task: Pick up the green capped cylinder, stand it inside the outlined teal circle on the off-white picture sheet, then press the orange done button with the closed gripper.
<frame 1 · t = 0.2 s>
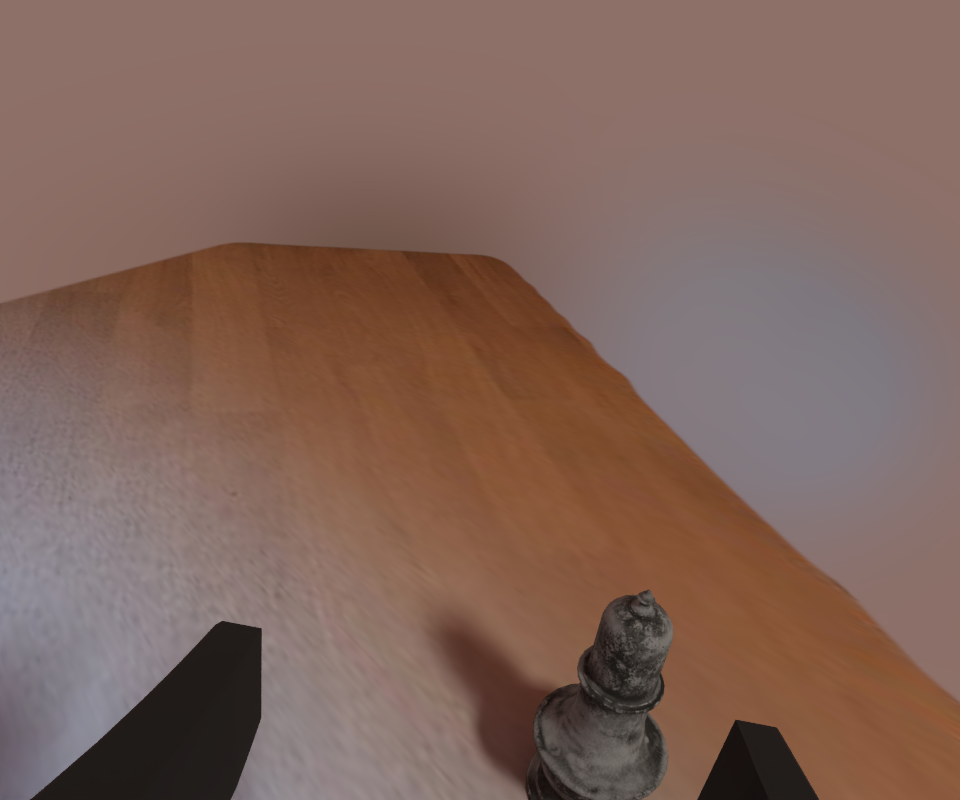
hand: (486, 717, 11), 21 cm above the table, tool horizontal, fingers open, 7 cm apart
salt shaker: (582, 792, 34), on the table
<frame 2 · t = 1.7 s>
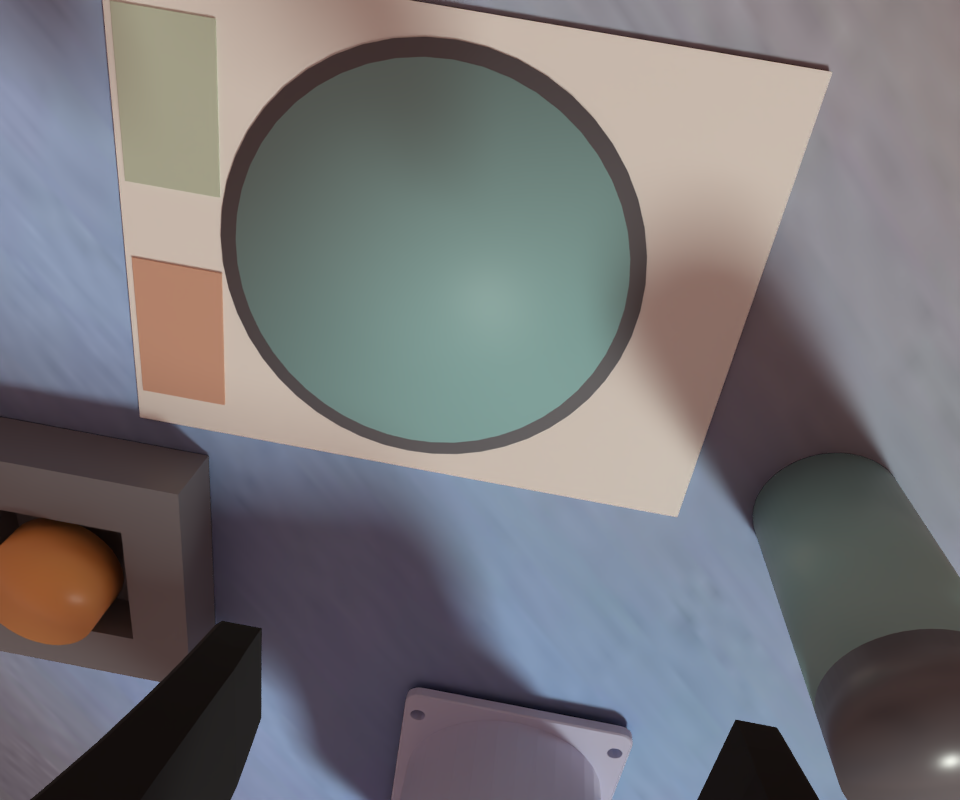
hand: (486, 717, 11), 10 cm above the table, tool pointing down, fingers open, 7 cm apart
green capped cylinder: (826, 512, 21), on the table
picture sheet: (429, 271, 19), on the table
button housing: (94, 533, 25), on the table
done button: (51, 581, 23), point 2 cm above the table, slide at 0.0 cm
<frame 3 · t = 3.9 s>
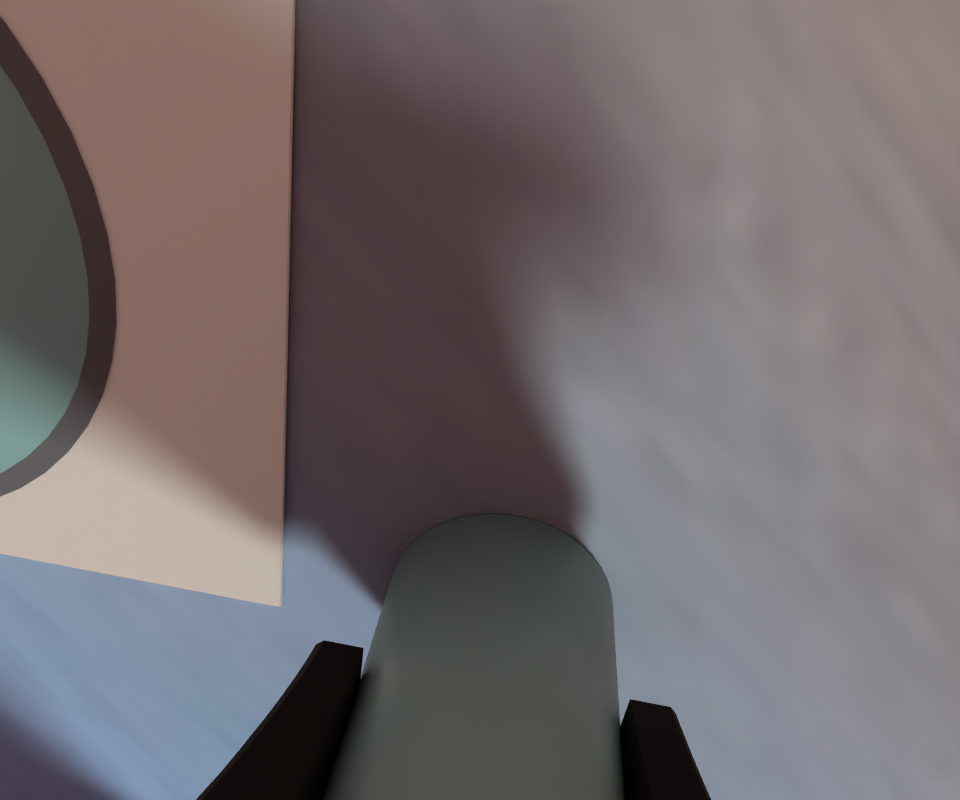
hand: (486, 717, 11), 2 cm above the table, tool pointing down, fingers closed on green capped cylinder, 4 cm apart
green capped cylinder: (499, 603, 14), on the table, touching gripper
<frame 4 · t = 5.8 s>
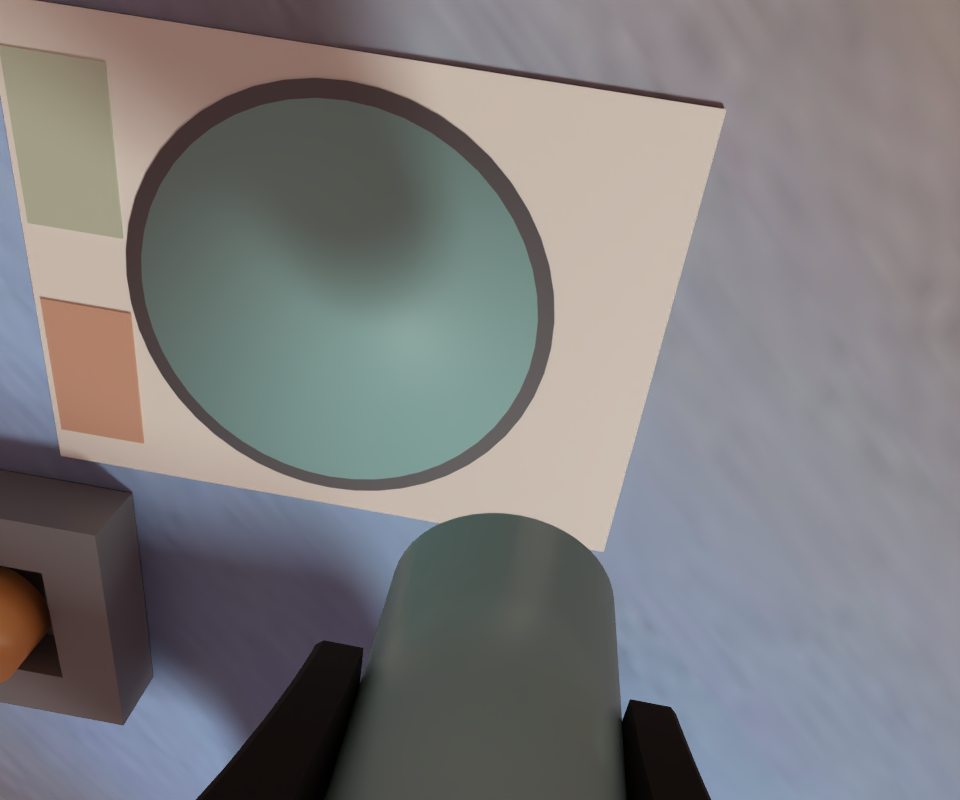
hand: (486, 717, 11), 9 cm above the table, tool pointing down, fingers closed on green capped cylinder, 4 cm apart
green capped cylinder: (501, 602, 14), point 7 cm above the table, touching gripper
picture sheet: (338, 310, 19), on the table
button housing: (24, 570, 25), on the table
when the fingers open (4 cm above the table, at t = 7.8 s): green capped cylinder drops 1 cm, resting on picture sheet.
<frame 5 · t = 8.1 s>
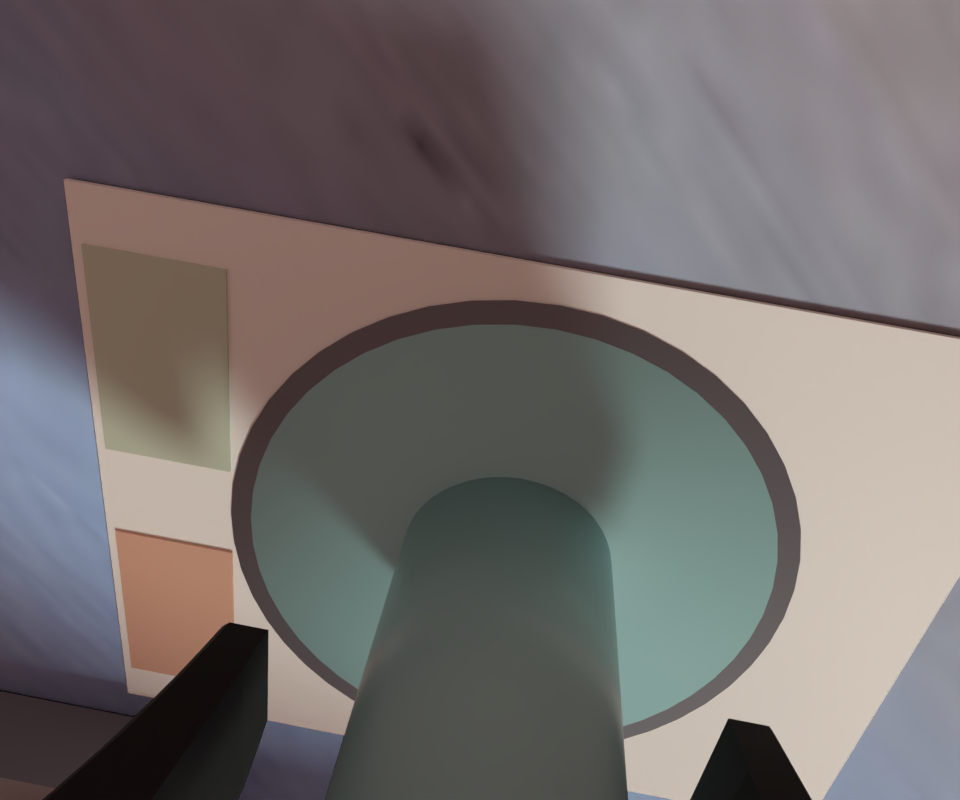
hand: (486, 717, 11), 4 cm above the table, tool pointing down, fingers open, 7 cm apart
green capped cylinder: (505, 563, 14), resting on picture sheet
picture sheet: (505, 560, 15), on the table
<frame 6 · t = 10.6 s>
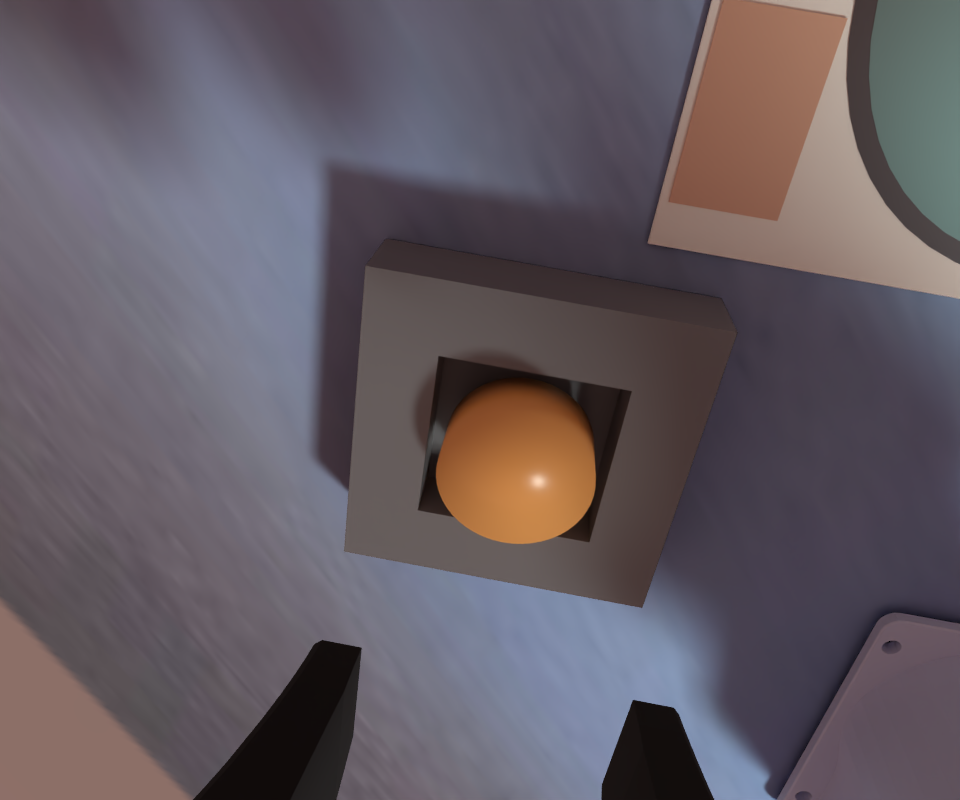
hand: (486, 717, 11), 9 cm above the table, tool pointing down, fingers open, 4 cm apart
button housing: (523, 413, 20), on the table
done button: (517, 461, 18), point 2 cm above the table, slide at 0.0 cm
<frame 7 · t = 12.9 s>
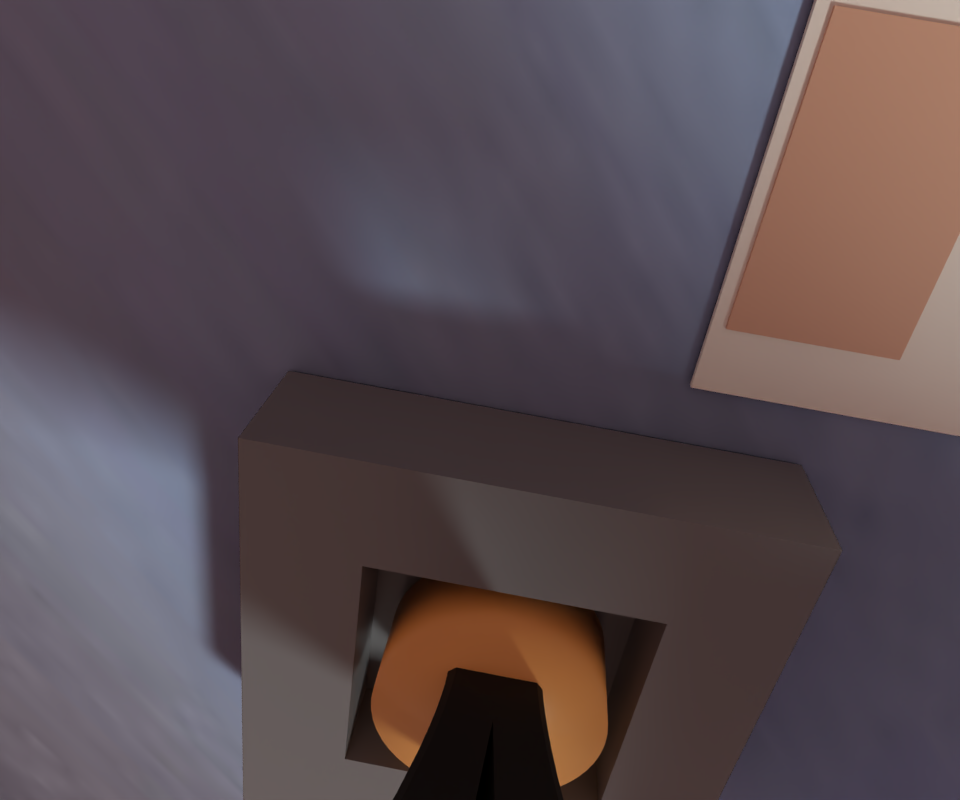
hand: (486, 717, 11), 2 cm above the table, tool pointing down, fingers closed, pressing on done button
button housing: (501, 606, 13), on the table
done button: (492, 679, 12), point 2 cm above the table, slide at 0.7 cm, touching gripper
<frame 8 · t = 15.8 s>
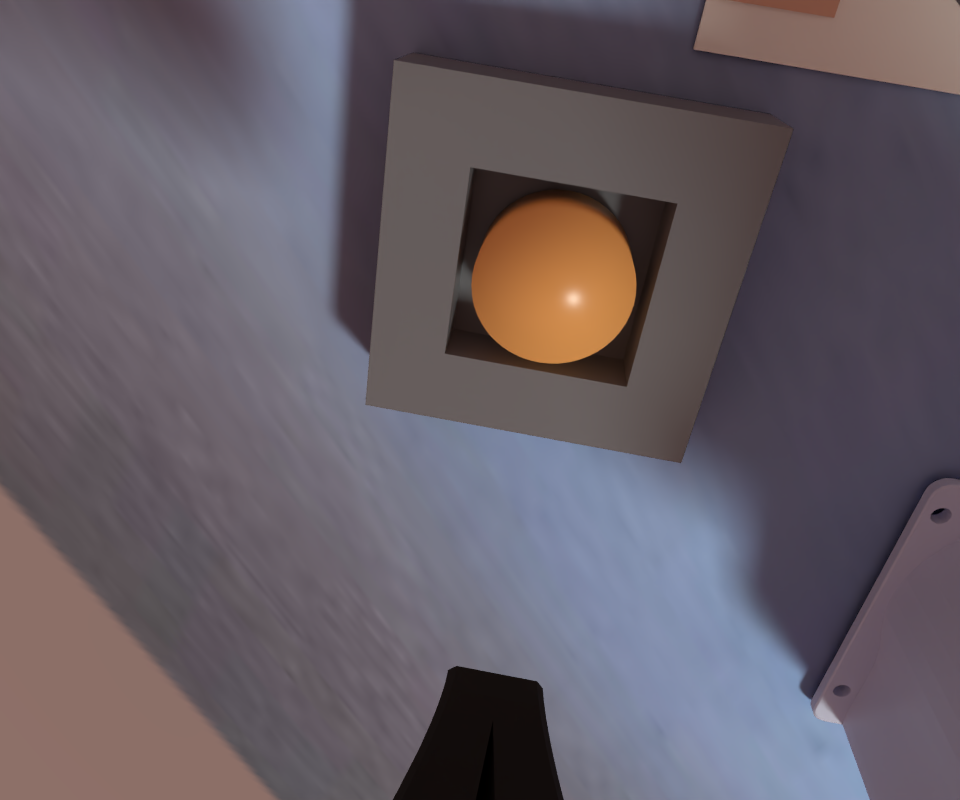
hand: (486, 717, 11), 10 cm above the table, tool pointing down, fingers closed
button housing: (555, 256, 19), on the table
done button: (553, 277, 17), point 2 cm above the table, slide at 0.7 cm
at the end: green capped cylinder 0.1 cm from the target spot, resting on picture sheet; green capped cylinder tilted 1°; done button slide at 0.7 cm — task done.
